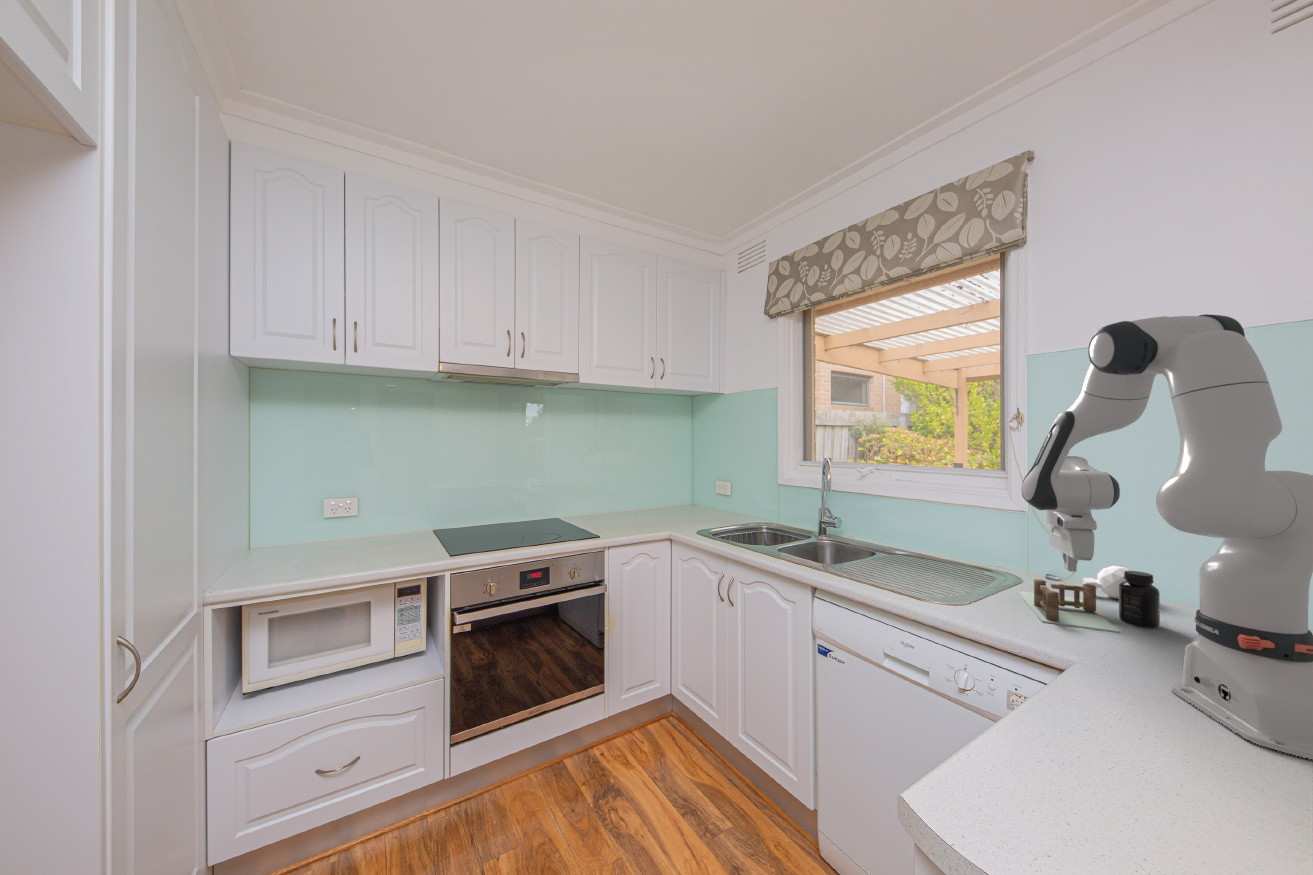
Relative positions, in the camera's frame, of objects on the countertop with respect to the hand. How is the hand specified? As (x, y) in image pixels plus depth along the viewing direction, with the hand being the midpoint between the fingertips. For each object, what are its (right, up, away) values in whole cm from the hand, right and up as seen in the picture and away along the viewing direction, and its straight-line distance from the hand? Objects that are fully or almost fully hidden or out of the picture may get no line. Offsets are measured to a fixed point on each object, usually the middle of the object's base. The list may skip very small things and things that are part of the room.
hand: (1070, 570), depth 122 cm
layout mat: (-5, -9, -3) cm, 11 cm away
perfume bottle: (+17, -10, +7) cm, 21 cm away
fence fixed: (-11, -10, -5) cm, 15 cm away
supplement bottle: (+6, -10, -11) cm, 16 cm away
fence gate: (-2, -9, -4) cm, 10 cm away
